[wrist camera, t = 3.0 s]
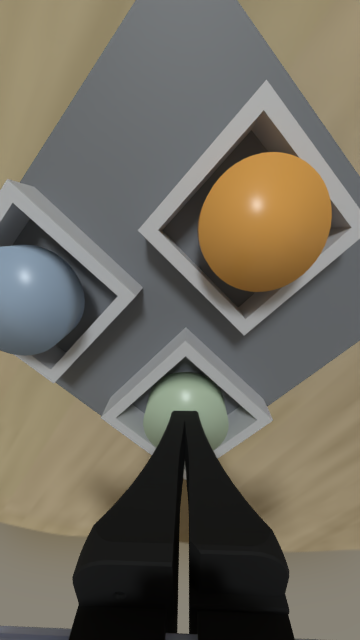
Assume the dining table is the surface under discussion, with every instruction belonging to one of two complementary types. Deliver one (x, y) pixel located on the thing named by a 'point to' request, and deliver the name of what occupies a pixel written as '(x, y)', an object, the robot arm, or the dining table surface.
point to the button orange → (265, 222)
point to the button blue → (36, 299)
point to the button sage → (186, 406)
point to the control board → (182, 220)
